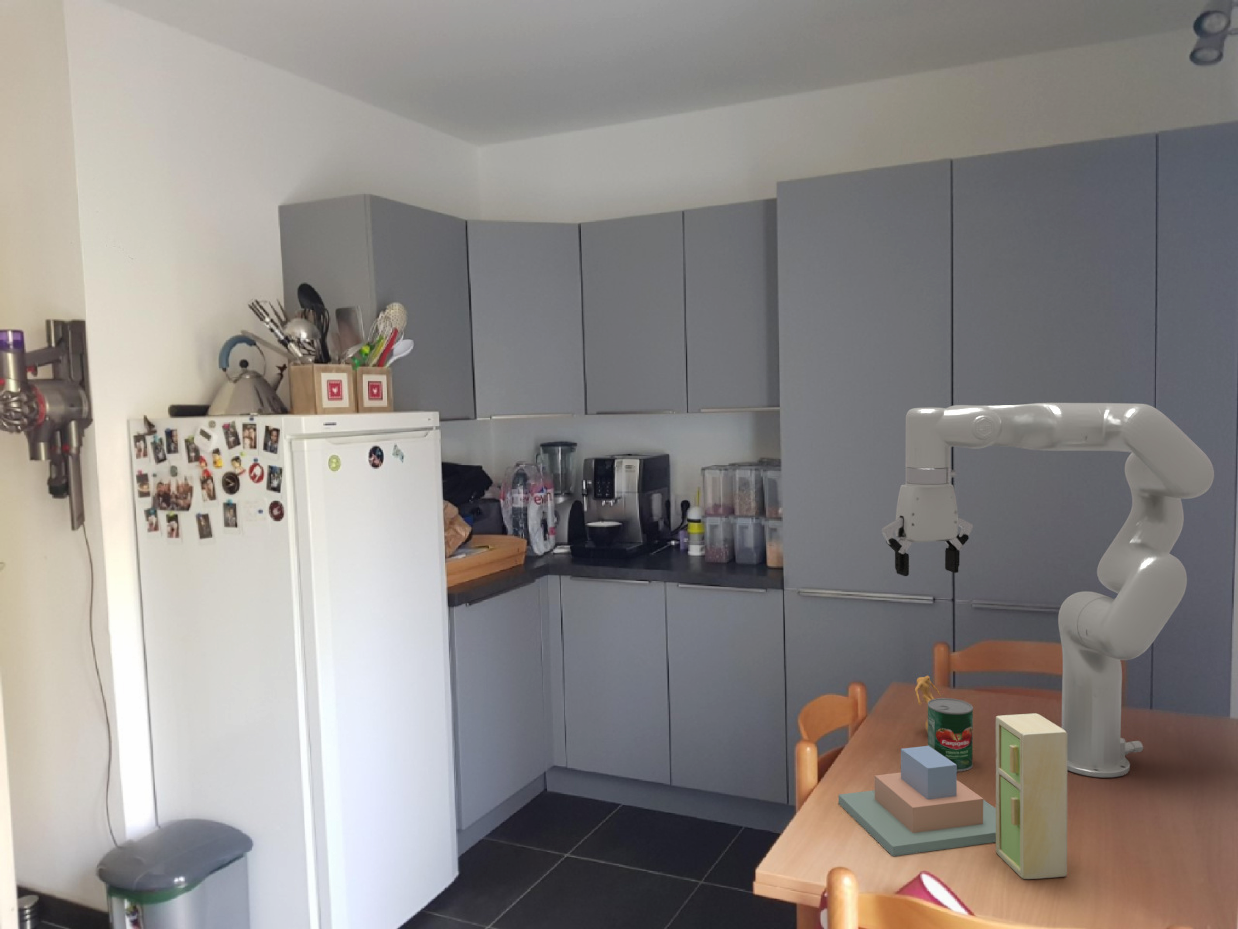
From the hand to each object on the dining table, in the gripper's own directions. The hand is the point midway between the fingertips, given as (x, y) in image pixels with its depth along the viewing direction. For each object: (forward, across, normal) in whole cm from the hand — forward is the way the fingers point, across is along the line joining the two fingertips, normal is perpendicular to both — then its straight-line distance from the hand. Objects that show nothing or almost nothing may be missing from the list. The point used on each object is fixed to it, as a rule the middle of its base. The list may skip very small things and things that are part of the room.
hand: (927, 573), depth 160 cm
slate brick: (+31, +10, +17) cm, 37 cm away
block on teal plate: (+36, +10, +17) cm, 41 cm away
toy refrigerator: (+36, +4, +33) cm, 49 cm away
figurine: (+36, -10, -15) cm, 41 cm away
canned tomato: (+36, -6, -2) cm, 37 cm away
